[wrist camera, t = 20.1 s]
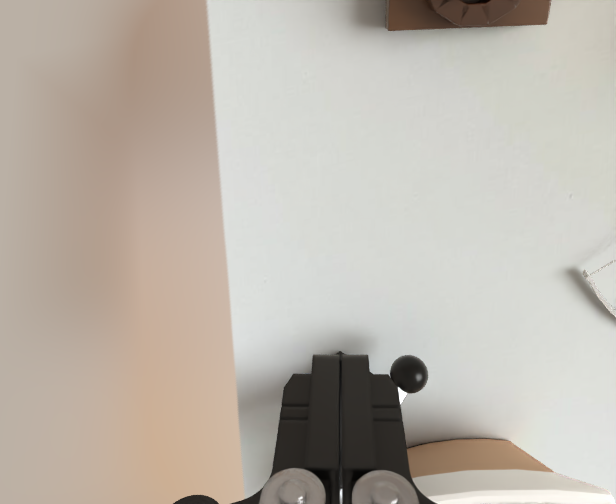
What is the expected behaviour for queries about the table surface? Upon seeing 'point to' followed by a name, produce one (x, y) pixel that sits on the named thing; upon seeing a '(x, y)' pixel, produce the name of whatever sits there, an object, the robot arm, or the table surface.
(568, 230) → the table surface
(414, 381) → the lever
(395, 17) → the button block
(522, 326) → the table surface
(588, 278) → the crossbow
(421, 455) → the bowl
